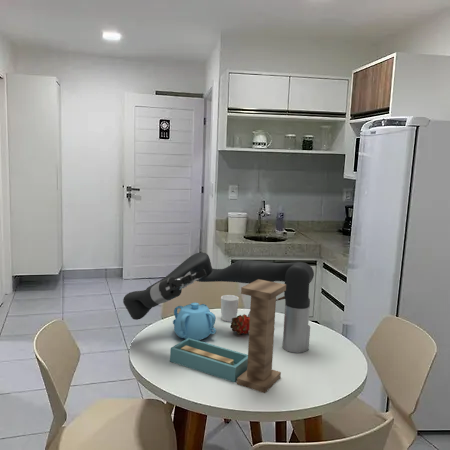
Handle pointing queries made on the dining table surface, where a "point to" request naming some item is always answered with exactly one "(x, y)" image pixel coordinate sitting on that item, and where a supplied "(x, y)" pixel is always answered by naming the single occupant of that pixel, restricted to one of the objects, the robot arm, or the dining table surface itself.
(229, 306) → the white cup
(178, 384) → the dining table surface
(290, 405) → the dining table surface
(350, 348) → the dining table surface
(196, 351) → the bar
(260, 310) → the stand
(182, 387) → the dining table surface
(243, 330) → the dragon fruit
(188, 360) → the tray
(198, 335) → the decorative pot
